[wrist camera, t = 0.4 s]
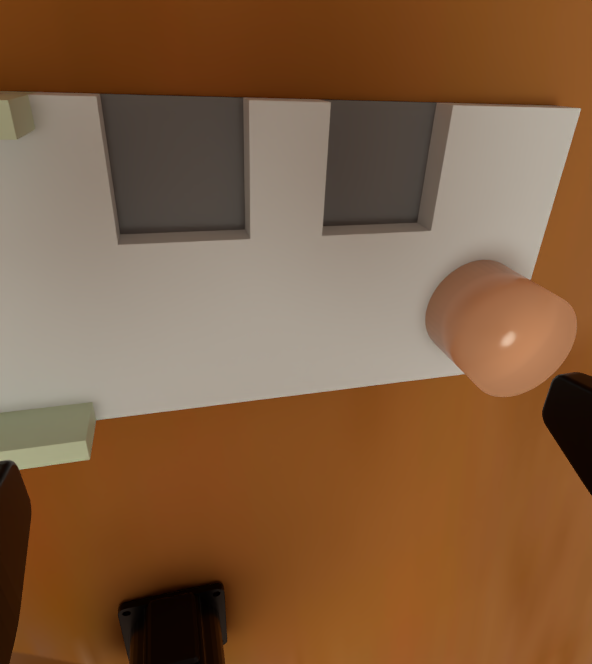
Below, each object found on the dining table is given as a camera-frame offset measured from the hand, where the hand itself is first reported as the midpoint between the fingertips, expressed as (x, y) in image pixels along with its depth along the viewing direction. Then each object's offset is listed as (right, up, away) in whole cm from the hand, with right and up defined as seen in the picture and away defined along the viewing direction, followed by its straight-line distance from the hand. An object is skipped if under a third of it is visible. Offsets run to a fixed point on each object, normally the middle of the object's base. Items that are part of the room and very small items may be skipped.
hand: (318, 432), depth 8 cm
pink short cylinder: (+8, +3, +16) cm, 18 cm away
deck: (-3, +5, +13) cm, 14 cm away
